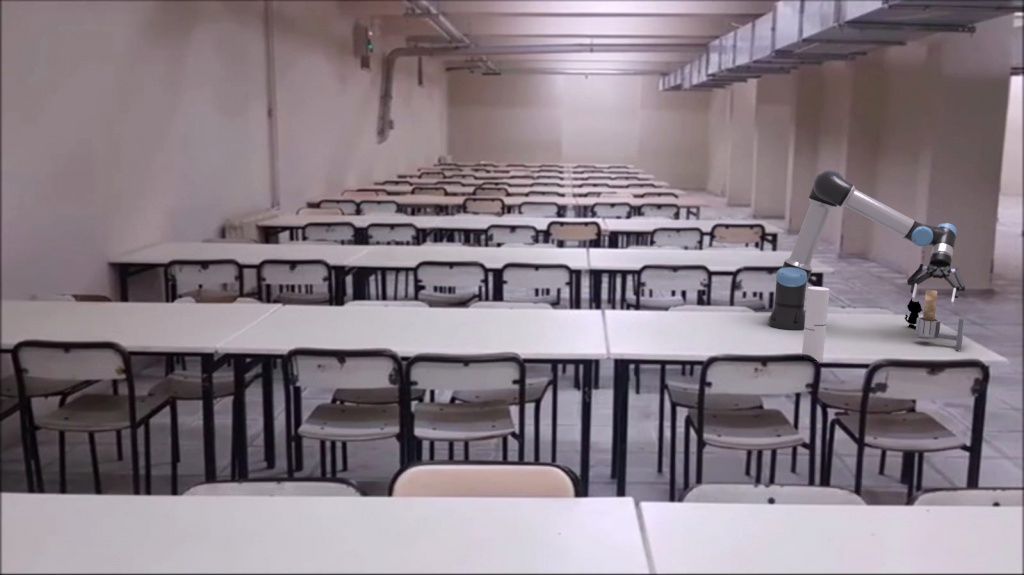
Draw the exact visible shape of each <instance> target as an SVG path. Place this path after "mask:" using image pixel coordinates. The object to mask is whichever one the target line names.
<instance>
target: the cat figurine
mask: <svg viewBox="0 0 1024 575" xmlns="http://www.w3.org/2000/svg"><path fill="white" fill-rule="evenodd" d="M906 308H907V310H908V312H910V314H909V315H908V314H905V315H904V320H905V322H906V323H908V326H907V328H910V329H912V330H916V322H917V318H918V317H920V316H919V314H920V313H921V312H922V313H924V309H923V308H922V304H921V303H920V301H919V300H918V301H915V300H914V301H912V297H911V299H910V300H909V302H908V304H907V306H906Z"/></svg>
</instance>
